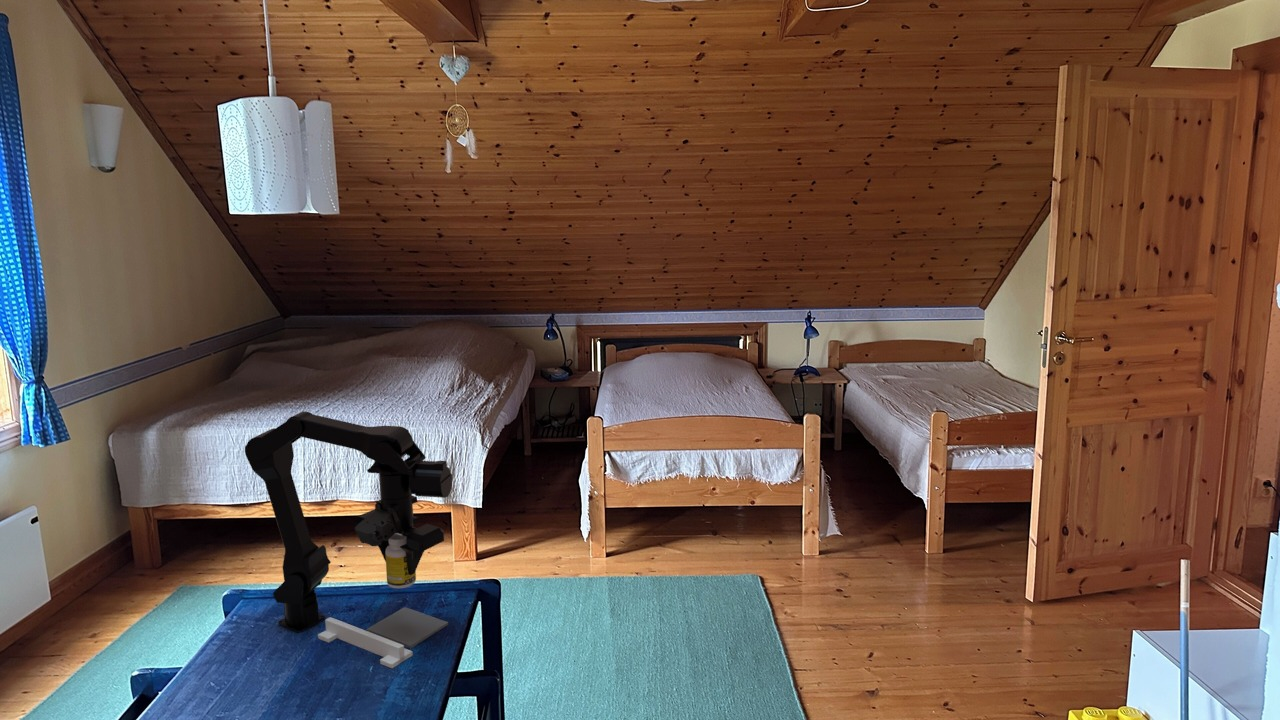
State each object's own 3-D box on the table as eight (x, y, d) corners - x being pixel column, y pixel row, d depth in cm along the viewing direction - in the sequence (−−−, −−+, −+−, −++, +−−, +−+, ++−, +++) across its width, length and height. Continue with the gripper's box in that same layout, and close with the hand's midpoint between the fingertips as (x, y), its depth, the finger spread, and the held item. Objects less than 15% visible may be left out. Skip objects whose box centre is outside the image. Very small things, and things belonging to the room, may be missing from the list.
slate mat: (366, 631, 160) (366, 629, 160) (404, 609, 168) (404, 607, 168) (410, 648, 154) (410, 646, 154) (448, 624, 162) (448, 622, 162)
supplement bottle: (407, 590, 155) (404, 542, 153) (382, 587, 156) (378, 540, 154) (421, 577, 160) (418, 531, 158) (396, 575, 161) (393, 528, 159)
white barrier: (318, 638, 157) (316, 624, 157) (339, 626, 161) (338, 612, 161) (392, 668, 147) (390, 653, 147) (412, 655, 152) (411, 640, 151)
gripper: (327, 498, 153) (334, 575, 156) (398, 518, 143) (403, 600, 146) (375, 480, 162) (380, 553, 165) (444, 498, 152) (448, 576, 156)
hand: (401, 570), depth 158 cm, fingers closed on supplement bottle, 5 cm apart
